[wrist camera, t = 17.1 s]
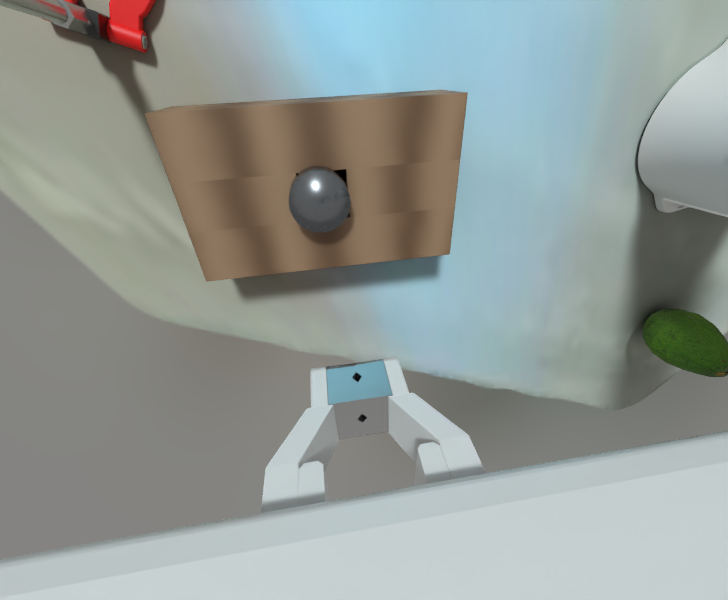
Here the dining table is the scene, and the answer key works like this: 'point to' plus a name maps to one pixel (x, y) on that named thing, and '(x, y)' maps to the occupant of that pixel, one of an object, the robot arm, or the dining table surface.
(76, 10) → the tow hook
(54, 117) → the dining table surface
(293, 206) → the steel pin
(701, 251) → the dining table surface
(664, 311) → the avocado
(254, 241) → the hitch block
